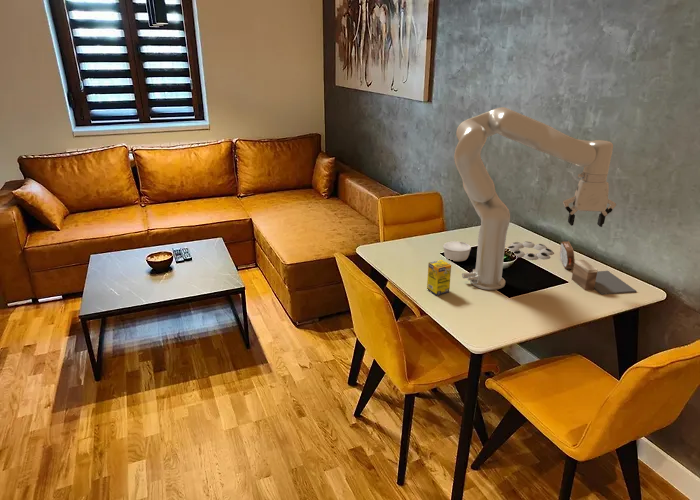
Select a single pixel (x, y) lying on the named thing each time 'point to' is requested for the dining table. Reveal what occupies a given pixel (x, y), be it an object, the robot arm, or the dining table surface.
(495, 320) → the dining table surface
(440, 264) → the supplement box
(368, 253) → the dining table surface
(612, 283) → the mat
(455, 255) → the ramekin
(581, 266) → the block
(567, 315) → the dining table surface
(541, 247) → the paint palette
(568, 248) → the tin
